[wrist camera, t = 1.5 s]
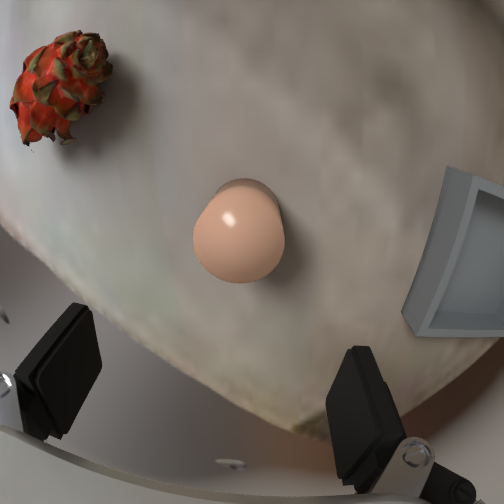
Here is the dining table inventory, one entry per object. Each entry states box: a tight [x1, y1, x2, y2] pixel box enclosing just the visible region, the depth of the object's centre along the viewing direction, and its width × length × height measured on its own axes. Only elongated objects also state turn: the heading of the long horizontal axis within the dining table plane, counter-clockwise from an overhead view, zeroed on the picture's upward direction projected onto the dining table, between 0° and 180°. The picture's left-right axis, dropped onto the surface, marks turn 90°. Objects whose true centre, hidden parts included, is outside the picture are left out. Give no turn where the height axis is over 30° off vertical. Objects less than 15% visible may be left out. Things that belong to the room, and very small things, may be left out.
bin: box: [401, 166, 504, 337], centre depth 25 cm, size 16×16×4 cm
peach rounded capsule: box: [193, 178, 285, 283], centre depth 23 cm, size 6×6×7 cm
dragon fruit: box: [10, 30, 113, 151], centre depth 19 cm, size 8×8×12 cm
